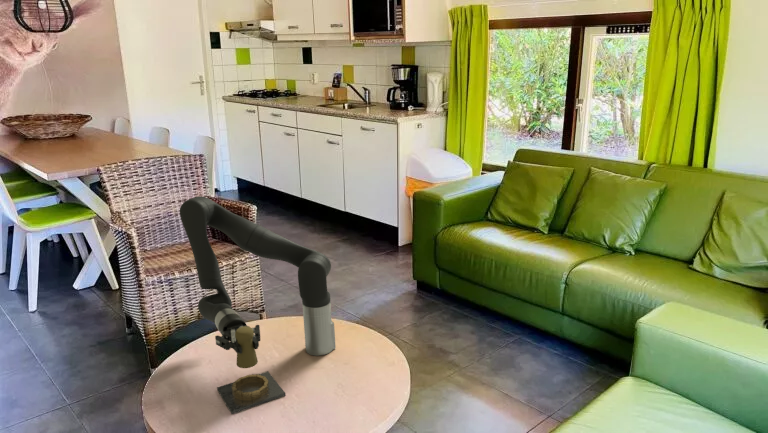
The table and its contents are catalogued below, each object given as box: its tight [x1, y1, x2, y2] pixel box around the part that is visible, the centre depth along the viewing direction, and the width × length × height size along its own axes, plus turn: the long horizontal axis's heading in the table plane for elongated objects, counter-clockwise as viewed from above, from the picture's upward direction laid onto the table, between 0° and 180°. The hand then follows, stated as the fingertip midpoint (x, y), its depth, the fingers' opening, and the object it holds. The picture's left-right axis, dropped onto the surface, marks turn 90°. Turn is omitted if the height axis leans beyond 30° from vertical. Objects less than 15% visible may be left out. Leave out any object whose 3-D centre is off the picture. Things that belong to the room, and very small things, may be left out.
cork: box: [235, 325, 258, 369], centre depth 166 cm, size 6×6×11 cm
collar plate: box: [216, 371, 286, 415], centre depth 170 cm, size 16×14×3 cm
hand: (248, 348), depth 164 cm, fingers closed on cork, 4 cm apart
